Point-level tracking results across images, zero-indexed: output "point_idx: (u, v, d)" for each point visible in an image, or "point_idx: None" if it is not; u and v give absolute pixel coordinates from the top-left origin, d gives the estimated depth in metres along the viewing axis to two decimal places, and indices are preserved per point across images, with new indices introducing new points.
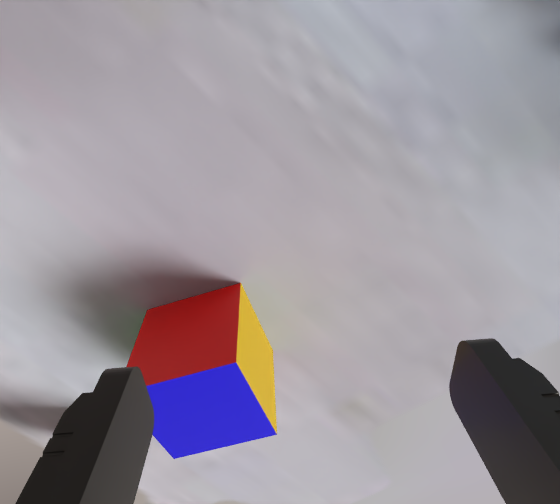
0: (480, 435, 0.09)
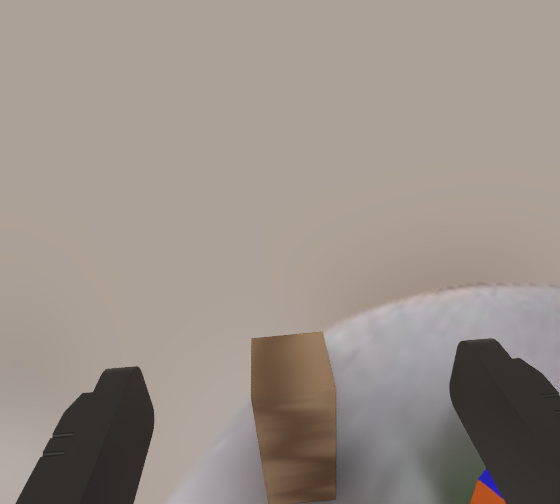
0: (480, 435, 0.09)
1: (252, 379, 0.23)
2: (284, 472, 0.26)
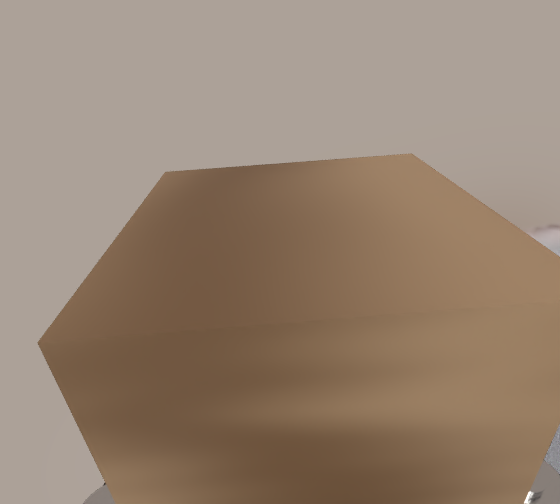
0: None
1: (104, 262, 0.04)
2: None
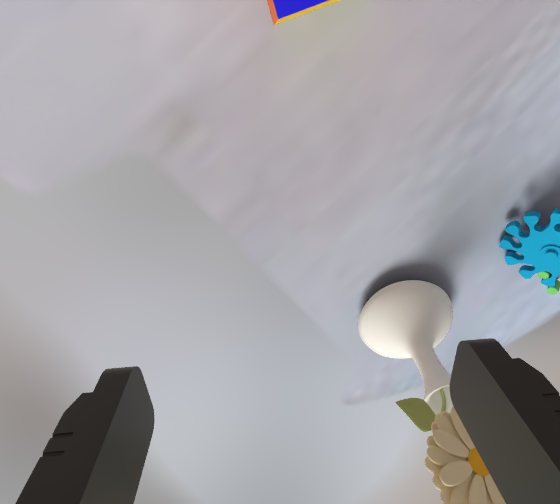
0: (480, 435, 0.09)
1: None
2: None
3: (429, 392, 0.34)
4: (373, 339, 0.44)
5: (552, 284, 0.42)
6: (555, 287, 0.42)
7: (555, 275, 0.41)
